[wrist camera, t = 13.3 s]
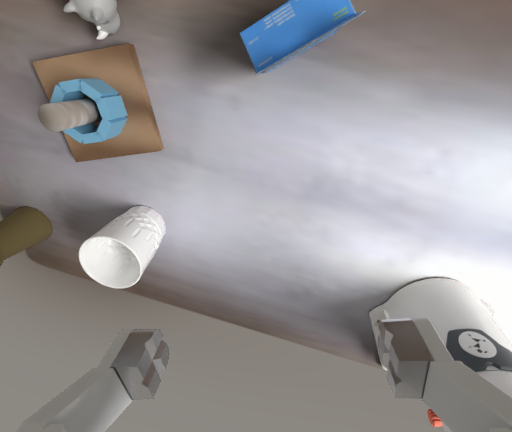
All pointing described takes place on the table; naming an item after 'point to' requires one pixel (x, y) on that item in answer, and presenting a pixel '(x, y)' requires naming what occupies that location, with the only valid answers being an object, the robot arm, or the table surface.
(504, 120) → the table surface
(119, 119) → the ring
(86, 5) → the round bodied animal figurine
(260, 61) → the blue printed box
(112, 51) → the post block
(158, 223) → the white cup
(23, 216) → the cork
